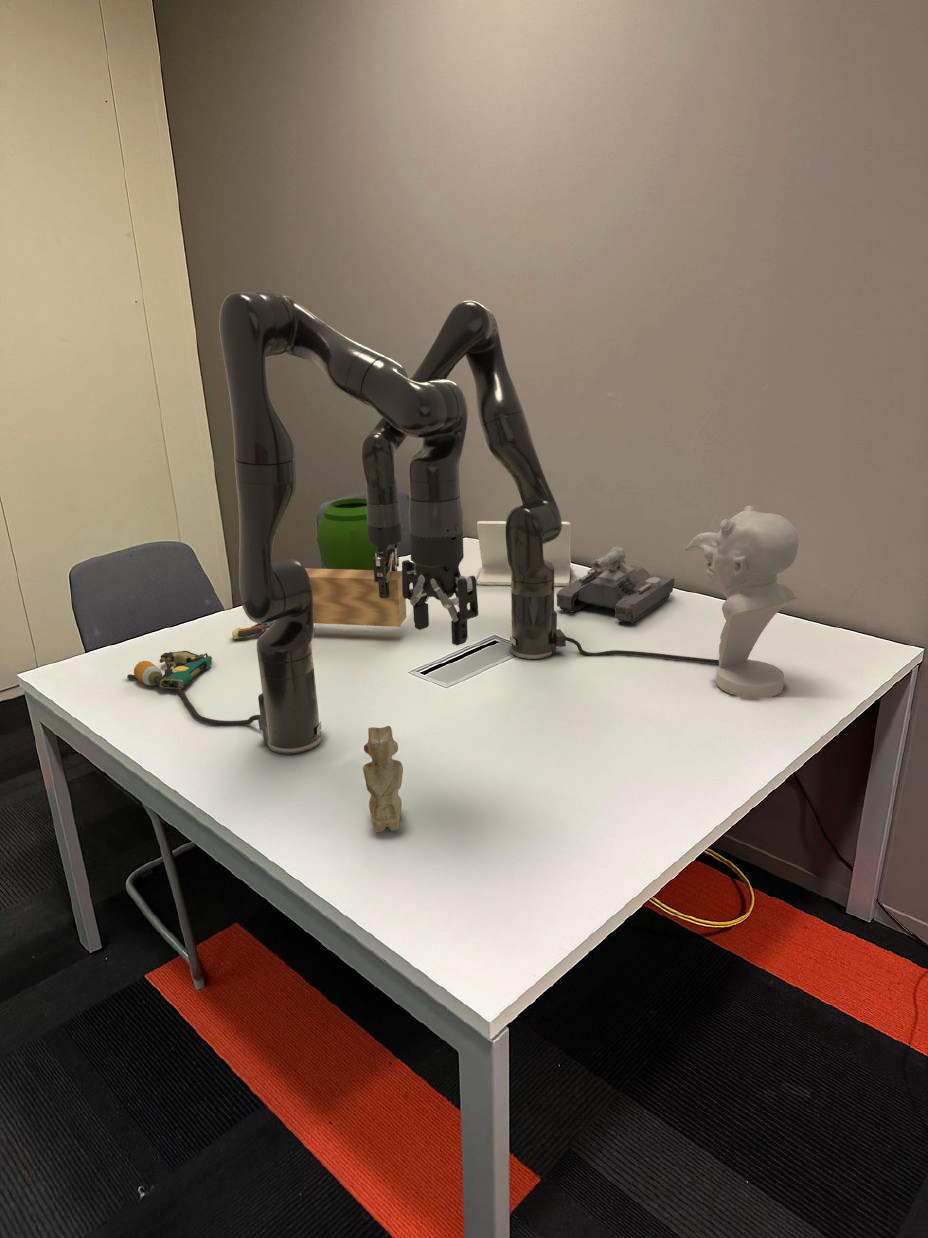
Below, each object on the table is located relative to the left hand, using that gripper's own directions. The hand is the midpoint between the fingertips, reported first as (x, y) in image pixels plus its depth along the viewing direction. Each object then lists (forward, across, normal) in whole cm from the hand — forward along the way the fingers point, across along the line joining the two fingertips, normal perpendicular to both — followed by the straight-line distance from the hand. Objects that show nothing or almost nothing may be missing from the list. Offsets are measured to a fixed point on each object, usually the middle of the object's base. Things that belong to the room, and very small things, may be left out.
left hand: (440, 635), depth 125 cm
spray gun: (+27, -75, -11) cm, 80 cm away
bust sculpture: (+27, +8, +68) cm, 74 cm away
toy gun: (+27, -87, +16) cm, 92 cm away
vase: (+27, -92, +47) cm, 107 cm away
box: (+23, -69, +28) cm, 78 cm away
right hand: (+16, -61, +34) cm, 72 cm away
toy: (+27, -37, +87) cm, 99 cm away
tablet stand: (+27, -71, +89) cm, 117 cm away
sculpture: (+27, 0, -12) cm, 29 cm away
